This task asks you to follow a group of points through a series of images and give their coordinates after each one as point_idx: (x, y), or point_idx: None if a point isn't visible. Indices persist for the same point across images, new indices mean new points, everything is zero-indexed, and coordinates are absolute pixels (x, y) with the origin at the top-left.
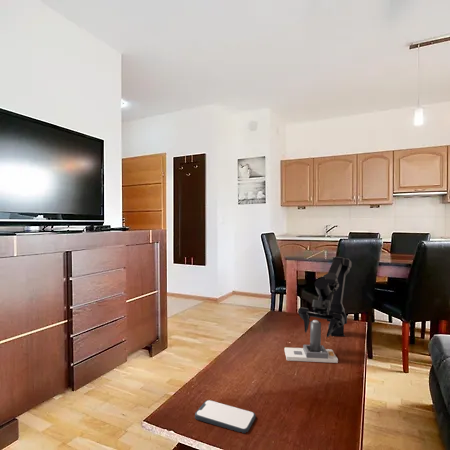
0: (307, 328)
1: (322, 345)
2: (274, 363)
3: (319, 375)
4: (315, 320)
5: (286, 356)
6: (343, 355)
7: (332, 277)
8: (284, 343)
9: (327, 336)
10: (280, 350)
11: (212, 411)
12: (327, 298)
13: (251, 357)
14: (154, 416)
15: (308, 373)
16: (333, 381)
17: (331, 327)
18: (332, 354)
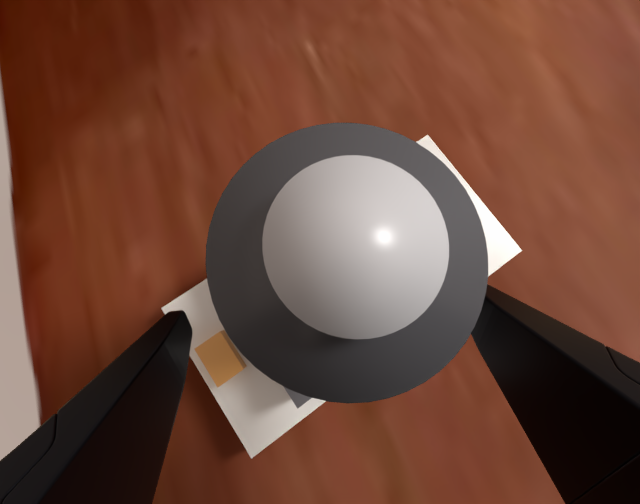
0: (496, 369)
1: (303, 401)
2: (445, 81)
3: (210, 101)
4: (380, 276)
5: (438, 156)
6: (173, 462)
7: None
8: None
9: (176, 314)
10: (525, 244)
11: None
12: None
13: (568, 69)
14: None
15: (262, 88)
16: (133, 87)
17: (35, 436)
18: (206, 340)
